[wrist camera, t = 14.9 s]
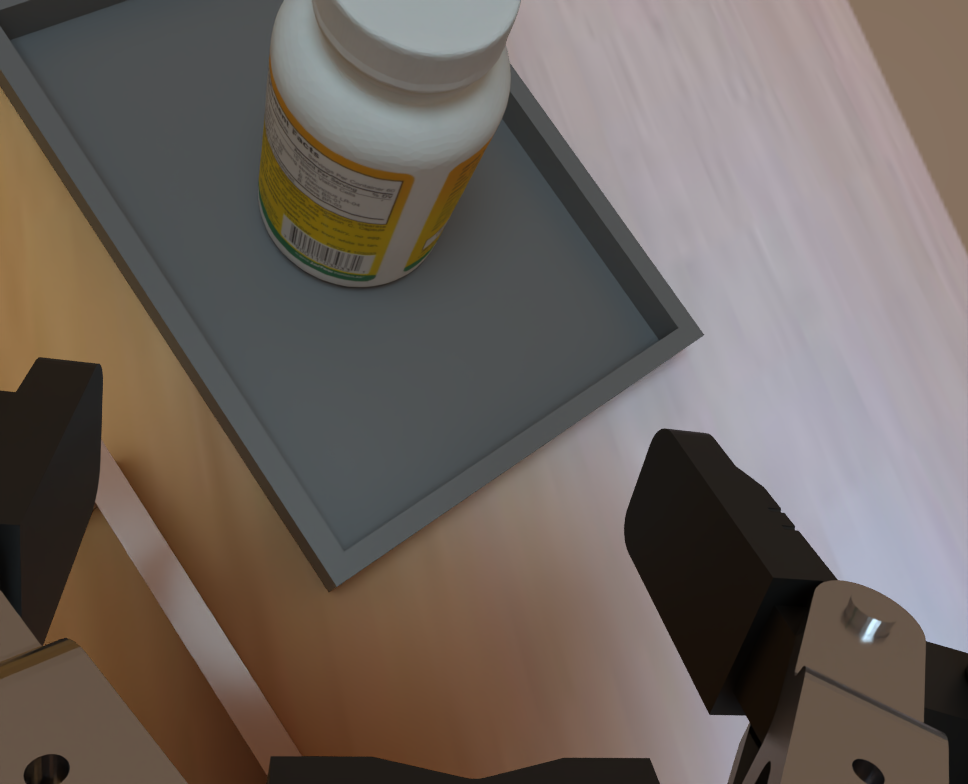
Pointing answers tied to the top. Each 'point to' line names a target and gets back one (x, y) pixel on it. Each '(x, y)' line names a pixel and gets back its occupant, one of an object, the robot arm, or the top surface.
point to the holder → (190, 615)
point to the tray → (323, 305)
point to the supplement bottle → (377, 127)
